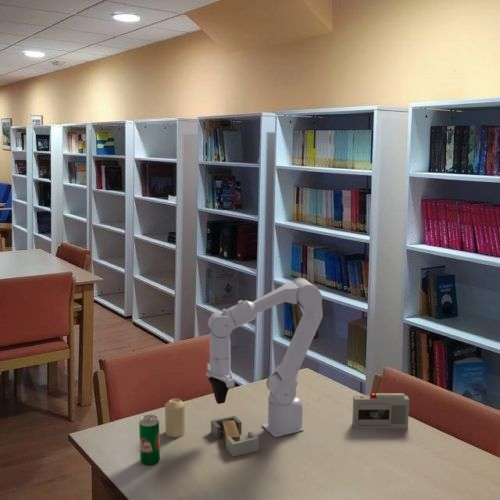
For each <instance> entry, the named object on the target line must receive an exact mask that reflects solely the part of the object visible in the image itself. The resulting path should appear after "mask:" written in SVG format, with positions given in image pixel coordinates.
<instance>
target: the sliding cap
mask: <svg viewBox="0 0 500 500" xmlns="http://www.w3.org/2000/svg"><path fill="white" fill-rule="evenodd" d="M225 446H226V448H225V449H226V450H227V451H228V453H229V454H230V455H231V456H232V457H233V458H234V457H237V456H238V457H239V456H241V455H246V454H249V453H255V452H258V451H259V450H260V447H259V446H260V438H259V437H258V436H257V435H256V434H255V433H254V432H253V431H248V432H247V438H245V439H242V440H241V439H240V441H237V442H235V441H234V440H233V439H232V438H231V437H230V436H228V437H226V443H225Z"/></svg>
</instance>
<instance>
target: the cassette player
mask: <svg viewBox="0 0 500 500" xmlns="http://www.w3.org/2000/svg"><path fill="white" fill-rule="evenodd" d="M409 414H410V398H409V396H408V395H405V393H400V392H398V393H397V392H395V393H391V392H390V393H389V392H388V393H386V392H383V393H382V392H380V393H379V392H378V393H377V392H373V393H372V392H370V394H369V395H365V394H364V395H363V394H362V395H360V394H359V395H353V397H352V421H351V422H352V426H353V429H409Z"/></svg>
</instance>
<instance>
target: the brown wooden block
mask: <svg viewBox="0 0 500 500" xmlns="http://www.w3.org/2000/svg"><path fill="white" fill-rule="evenodd" d="M221 433H222V435H223V439H224V442H225V444H226V437H228V436H230V437H231V438H232V439H233V440H234V441H235V442H237V441H241V435H240V434H239V432H238V429H237V426H236V423H235V420H230V421H222V432H221Z"/></svg>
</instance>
